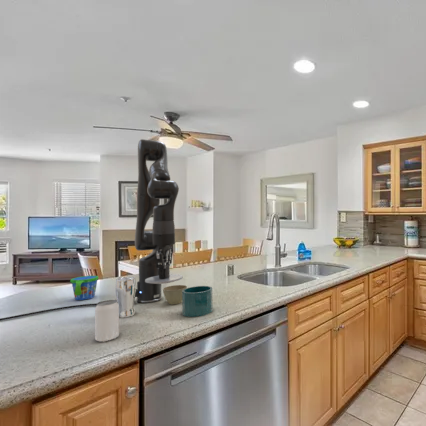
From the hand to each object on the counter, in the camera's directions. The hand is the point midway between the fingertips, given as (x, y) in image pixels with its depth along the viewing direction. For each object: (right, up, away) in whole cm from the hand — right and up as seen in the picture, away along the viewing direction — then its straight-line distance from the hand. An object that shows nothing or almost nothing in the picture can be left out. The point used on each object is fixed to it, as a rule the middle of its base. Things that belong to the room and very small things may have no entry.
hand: (164, 277), depth 112 cm
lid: (0, -1, 0) cm, 1 cm away
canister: (+8, -17, +11) cm, 22 cm away
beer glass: (-20, -17, +8) cm, 27 cm away
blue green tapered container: (-56, -17, +31) cm, 66 cm away
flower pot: (-7, -17, +23) cm, 30 cm away
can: (-11, -17, -14) cm, 25 cm away
